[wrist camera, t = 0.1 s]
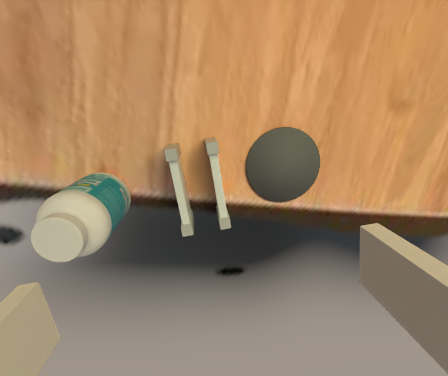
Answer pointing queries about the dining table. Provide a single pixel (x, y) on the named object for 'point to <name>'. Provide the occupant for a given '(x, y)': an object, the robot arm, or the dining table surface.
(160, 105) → the dining table surface
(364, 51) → the dining table surface
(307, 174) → the coaster
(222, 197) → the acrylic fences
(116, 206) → the pill bottle
